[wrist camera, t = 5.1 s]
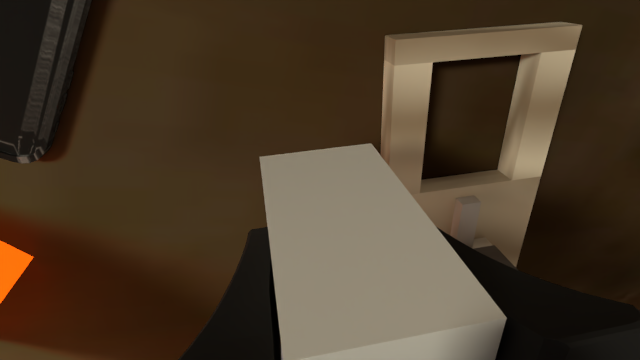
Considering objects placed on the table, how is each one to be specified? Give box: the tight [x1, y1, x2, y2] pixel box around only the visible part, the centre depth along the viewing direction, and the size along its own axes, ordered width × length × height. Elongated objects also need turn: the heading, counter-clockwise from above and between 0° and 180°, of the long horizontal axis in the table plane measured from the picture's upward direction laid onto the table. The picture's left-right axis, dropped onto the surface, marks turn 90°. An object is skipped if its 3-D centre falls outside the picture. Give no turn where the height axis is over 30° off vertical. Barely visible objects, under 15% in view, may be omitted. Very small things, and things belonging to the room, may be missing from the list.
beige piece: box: [381, 22, 582, 270], centre depth 21 cm, size 20×10×10 cm, turn 2°
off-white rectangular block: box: [260, 143, 507, 360], centre depth 11 cm, size 6×4×8 cm
